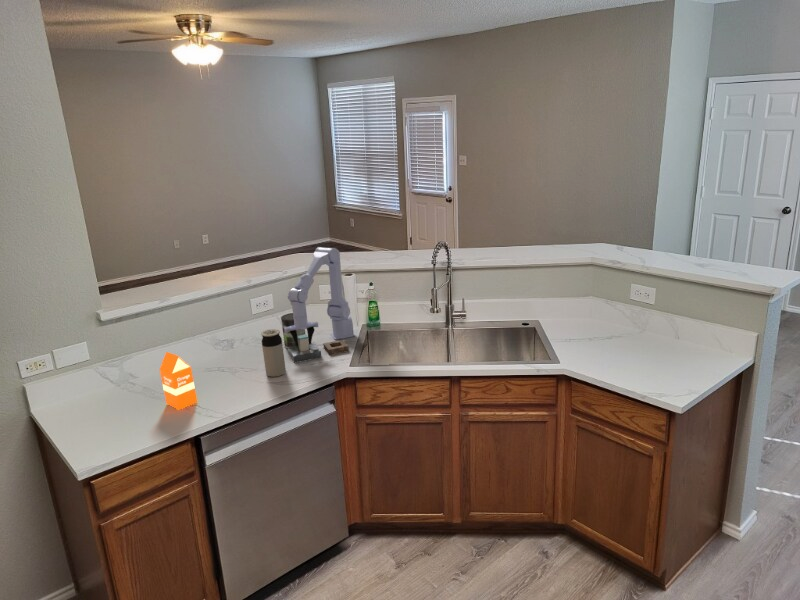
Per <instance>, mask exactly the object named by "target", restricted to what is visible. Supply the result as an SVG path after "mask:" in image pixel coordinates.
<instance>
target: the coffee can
mask: <svg viewBox="0 0 800 600" xmlns="http://www.w3.org/2000/svg"><path fill="white" fill-rule="evenodd" d="M280 319H281V327H282V335H283V341H284V342H283V344H284V347H285V349H288V347H292V346H296V344H295V341H294V339H293V337H292V335H291V333H290V332H288V333H285V330H284V328H285V327H289V326H292V325H294V317H293V312H291V313H286V314H283V315H282V316H281V317H280ZM296 333H297V336H299V335H305V334H306V329H302V330H297V331H296ZM297 340H298V337H297ZM298 345H299V343H298Z"/></svg>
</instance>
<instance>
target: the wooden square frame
mask: <svg viewBox="0 0 800 600" xmlns="http://www.w3.org/2000/svg"><path fill="white" fill-rule="evenodd" d="M322 345H323V350H324V349H325V350H324V351H325V352H326V353H327V354H329V355H328V356H333V355H337V354H341V353H346V352H349V351H350V350H349V345H348V344H347V343H346V342H345V341H344V340H343V339H337V340H334V341H329V342H325V343H324V342H323V343H322ZM332 354H333V355H332Z"/></svg>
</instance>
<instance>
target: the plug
mask: <svg viewBox="0 0 800 600" xmlns="http://www.w3.org/2000/svg"><path fill="white" fill-rule="evenodd" d="M297 337H298V343H299V351H300V352H302V351H307V350H309V345H308V343H309V342H308V334H306V333H305V335H299V336H297Z"/></svg>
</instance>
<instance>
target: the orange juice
mask: <svg viewBox="0 0 800 600" xmlns="http://www.w3.org/2000/svg"><path fill="white" fill-rule="evenodd" d="M159 372H160V377H161V382H162V389H163V393H164V398H165V403H166V405H167V404H168V405H170V406H172V407H174V408H176V409H175V410H177V409H178V410H177V411H179V410H180V409H182V410H184V409H186V408H185V407H187V406H189V407H191V406H193V405H195V404H194V403H196V404H198V398H197V393H196V388H195V381H194V377H193V371H192V366H190V365H189V364H188V363H187V362H186V361H184V360H183V358H181V357H180V355H176V354H175V353H174V354H173V353H171V352H170V351H169V352H168V351H166V352H165V354H164V356H163V359H162V362H161V365H160V367H159ZM192 404H193V405H192ZM168 405H167V406H168ZM190 405H191V406H190ZM170 406H169V407H170ZM172 407H171V408H172ZM174 408H173V409H174ZM183 408H184V409H183ZM187 408H188V407H187ZM180 411H181V410H180Z"/></svg>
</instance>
